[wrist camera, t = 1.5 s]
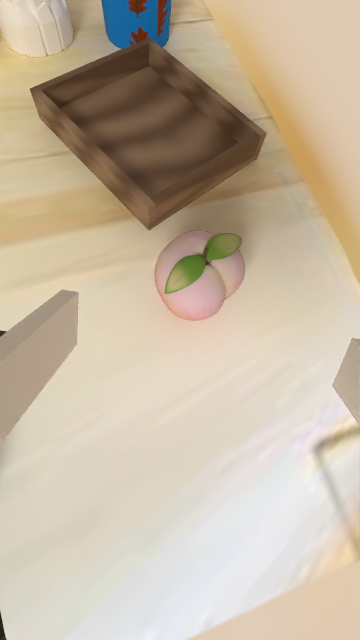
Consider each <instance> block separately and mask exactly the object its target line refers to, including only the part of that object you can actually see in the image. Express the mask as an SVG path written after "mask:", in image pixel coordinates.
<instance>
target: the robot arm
mask: <svg viewBox="0 0 360 640" xmlns="http://www.w3.org/2000/svg"><path fill="white" fill-rule="evenodd" d="M77 324H78V292H73V291H67V290H61V291H60V292H58V293H57V294H56V295H55V296H53V297H52V298H51V299H49V300H48V301H47V302H45V303H44V304H43V305H41V306H40V307H39V308H37V309H36V310H35V311H34V312H32V313H31V314H30V315H28V316H27V317H26V318H24V319H23V320H22V321H20V322H19V323H18V324H17V325H15V326H14V327H13V328H11V329H10V330H9V331H7V332H6V331H0V444H1V443H2V441H3V440H4V439H5V437H6V436H7V435H8V433H9V432H10V431H11V430H12V428H13V427H14V426H15V424H16V423H17V422H18V420H19V419H20V418H21V416H22V415H23V414H24V412H25V411H26V410H27V409H28V407H29V406H30V405H31V403H32V402H33V401H34V399H35V398H36V397H37V395H38V394H39V393H40V392H41V390H42V389H43V388H44V386H45V385H46V384H47V382H48V381H49V380H50V378H51V377H52V376H53V375H54V373H55V372H56V371H57V369H58V368H59V367H60V365H61V364H62V363H63V361H64V360H65V359H66V358H67V356H68V355H69V354H70V352H71V351H72V350H73V348H74V347H75V346H76V344H77ZM332 386H333V388H334V389H335V391H336V392H337V393H338V395H339V396H340V398H341V399H342V401H343V402H344V404H345V405H346V407H347V408H348V410H349V411H350V413H351V414H352V415H353V417H354V418H355V420H356V421H357V423H358V424H359V426H360V339H356V338H352V340H351V343H350V345H349V347H348V350H347V352H346V354H345V357H344V359H343V362H342V364H341V366H340V369H339V371H338V373H337V376H336V378H335V380H334V383H333V385H332ZM0 640H6V637H5V633H4V628H3V623H2V618H1V613H0Z"/></svg>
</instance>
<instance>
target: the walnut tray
mask: <svg viewBox="0 0 360 640" xmlns="http://www.w3.org/2000/svg"><path fill="white" fill-rule="evenodd" d="M30 91H31V94H32V97H33V99H34V102H35V105H36V108H37V111H38V114H39V117H40V119H41V120H42V121H43V122H44V123H45V124H46V125H47V126H48V127H49V128H50V129H51V130H52V131H53V132H54V133H55V134H56V135H57V136H58V137H59V138H60V139H61V140H62V141H63V142H64V143H65V144H66V146H67V147H68V148H69V149H70V150H71V151H72V152H73V153H74V154H75V155H76V156H77V157H78V158H79V159H80V160H81V161H82V162H83V163H84V164H85V165H86V166H87V167H88V168H89V169H90V170H91V171H92V172H93V173H94V174H95V175H96V176H97V177H98V178H99V179H100V180H101V181H102V183H103V184H104V185H105V186H106V187H107V188H108V189H109V190H110V191H111V192H112V193H113V194H114V195H115V196H116V197H117V198H118V199H119V200H120V201H121V202H122V203H123V204H124V205H125V206H126V207H127V208H128V209H129V210H130V211H131V212H132V213H133V214H134V215H135V216H136V217H137V218H138V219H139V221H140V222H141V223H142V224H143V225H144V226H145V227H146V228H147V229H148V230H150V229H151V228H153V227H154V226H156V225H157V224H159V223H160V222H162V221H164V220H165V219H167V218H168V217H170V216H171V215H173V214H174V213H176V212H177V211H179V210H180V209H182V208H183V207H185V206H186V205H188V204H189V203H191V202H192V201H194V200H195V199H197V198H198V197H200V196H201V195H203V194H204V193H206V192H207V191H209V190H210V189H212V188H213V187H215V186H216V185H218V184H219V183H221V182H222V181H224V180H225V179H227V178H228V177H230V176H231V175H233V174H234V173H236V172H237V171H239V170H241V169H242V168H244V167H245V166H247V165H248V164H250V163H251V162H253V161H254V160H256V159H257V157H258V155H259V152H260V149H261V147H262V144H263V141H264V138H265V136H266V132H265V131H263V130H262V129H261V128H260V127H258V126H257V125H256V124H255V123H254V122H252V121H251V120H250V119H249V118H247V117H246V116H245V115H244V114H243V113H241V112H240V111H239V110H238V109H236V108H235V107H234V106H233V105H232V104H230V103H229V102H228V101H227V100H225V99H224V98H223V97H222V96H221V95H219V94H218V93H217V92H216V91H214V90H213V89H212V88H211V87H210V86H208V85H207V84H206V83H205V82H203V81H202V80H201V79H200V78H199V77H197V76H196V75H195V74H194V73H192V72H191V71H190V70H189V69H188V68H186V67H185V66H184V65H183V64H181V63H180V62H179V61H178V60H177V59H175V58H174V57H173V56H172V55H170V54H169V53H168V52H167V51H166V50H164V49H163V48H162V47H161V46H159V45H158V44H157V43H156V42H155V41H153V40H152V39H151V38H147V39H145V40H143V41H140V42H138V43H136V44H133V45H131V46H129V47H126V48H124V49H122V50H119V51H117V52H115V53H112V54H110V55H108V56H105V57H103V58H101V59H98V60H96V61H94V62H91V63H89V64H87V65H84V66H82V67H80V68H77V69H75V70H73V71H70V72H68V73H66V74H63V75H61V76H59V77H56V78H54V79H52V80H49V81H47V82H45V83H42V84H40V85H38V86H35V87H33V88H31V89H30Z"/></svg>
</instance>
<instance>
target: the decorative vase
mask: <svg viewBox="0 0 360 640" xmlns="http://www.w3.org/2000/svg"><path fill="white" fill-rule="evenodd" d="M0 30H1V33H2V35H3V38H4V41H5V42H6V43H7V45H8V46H9V47H10V48H11V49H12V50H13V51H15V52H17V53H19V54H21V55H27V56H28V57H46V55H47V54H48V55H49V56H51V55H54V54H57V53H60V52H62V50H65V49H66V48H67V47H68V46H69V45H70V44H71V43H72V41H73V29H72V24H71V19H70V14H69V9H68V4H67V1H66V0H0Z"/></svg>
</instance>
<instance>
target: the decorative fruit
mask: <svg viewBox="0 0 360 640" xmlns="http://www.w3.org/2000/svg"><path fill="white" fill-rule="evenodd" d="M241 240H242V239H241V237H239V236H237V235H235V234H229V233H223V234H218V235H217V234H214V233H210V232H206V231H191V232H187V233H184V234H182V235H180V236H178V237H177V238H175V239H174V240H173V241H172V242H171V243H170V244H168V245H167V246H166V247H165V249H164V250H163V251H162V252H161V254H160V256H159V258H158V260H157V263H156V266H155V283H156V287H157V290H158V292H159V294H160V296H161V298H162V300H163V301H164V303H165V304H166V306H167V307H168V308H169V310H170V311H171V312H172V313H174V314H175V315H176V316H178V317H180V318H182V319H185V320H191V321H196V320H202V319H206V318H208V317H210V316H212V315H214V314H215V313H217V312H218V311H219V309H220V308H221V306H222V304H223V301H224V300H225V299H227V298H228V297H230V296H231V295H232V294H233V293H234V292H235V291H236V290H237V289H238V288H239V286H240V285H241V283H242V281H243V278H244V275H245V265H244V261H243V258H242V255H241V253H240V252H239V250H238V248H239V246H240V245H241Z"/></svg>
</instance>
